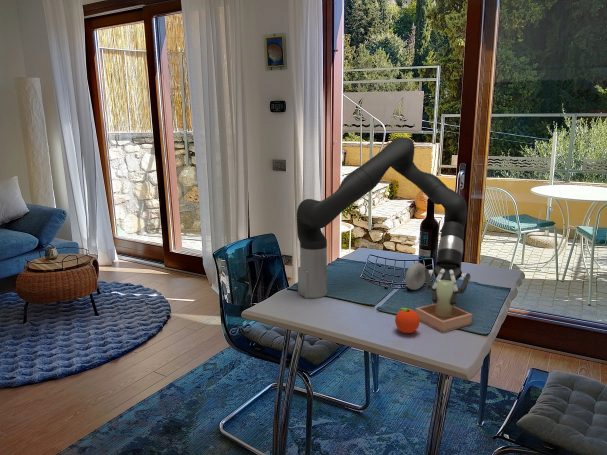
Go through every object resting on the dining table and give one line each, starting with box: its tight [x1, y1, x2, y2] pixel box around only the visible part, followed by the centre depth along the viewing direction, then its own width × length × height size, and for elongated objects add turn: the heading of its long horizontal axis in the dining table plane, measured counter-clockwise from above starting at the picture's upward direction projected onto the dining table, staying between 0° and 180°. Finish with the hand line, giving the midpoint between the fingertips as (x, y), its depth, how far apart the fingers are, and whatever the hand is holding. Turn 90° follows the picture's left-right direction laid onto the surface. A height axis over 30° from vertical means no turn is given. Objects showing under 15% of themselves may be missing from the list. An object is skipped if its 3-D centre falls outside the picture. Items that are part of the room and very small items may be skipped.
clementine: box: [394, 307, 421, 334], centre depth 137 cm, size 8×7×7 cm
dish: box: [414, 303, 473, 334], centre depth 144 cm, size 12×12×3 cm
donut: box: [404, 262, 427, 291], centre depth 170 cm, size 10×4×10 cm, turn 130°
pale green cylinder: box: [435, 280, 454, 317], centre depth 143 cm, size 5×5×10 cm
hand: (443, 303), depth 141 cm, fingers closed on pale green cylinder, 4 cm apart
